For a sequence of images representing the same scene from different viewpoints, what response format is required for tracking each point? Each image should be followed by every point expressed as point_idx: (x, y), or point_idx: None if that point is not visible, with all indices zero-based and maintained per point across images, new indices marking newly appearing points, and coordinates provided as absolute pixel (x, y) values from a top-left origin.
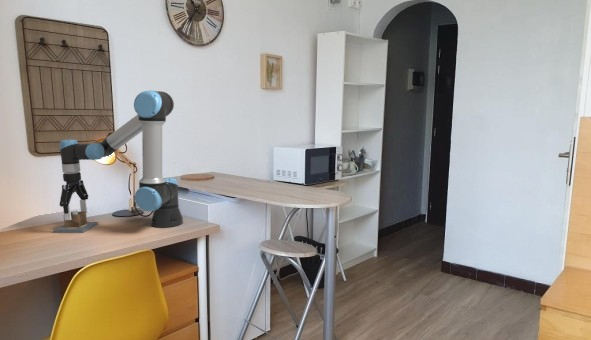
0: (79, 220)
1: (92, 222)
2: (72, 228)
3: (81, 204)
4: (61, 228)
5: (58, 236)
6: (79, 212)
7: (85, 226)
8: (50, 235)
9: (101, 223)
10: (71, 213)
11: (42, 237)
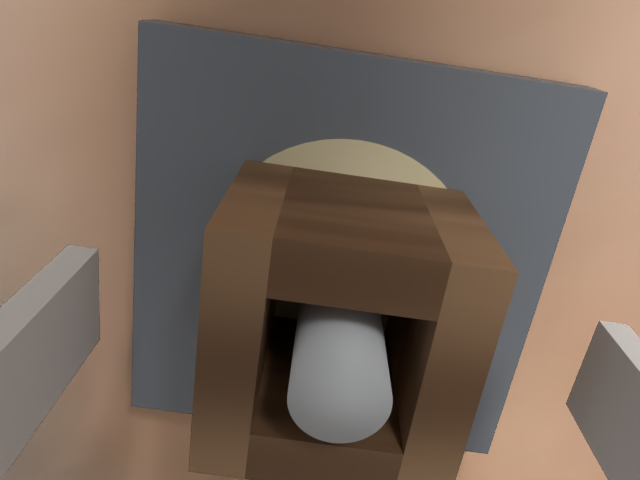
0: (458, 223)
1: (175, 101)
2: None
3: (11, 434)
4: None
5: (635, 331)
6: (261, 330)
7: (412, 120)
8: (560, 422)
9: (51, 5)
10: (312, 437)
11: None
